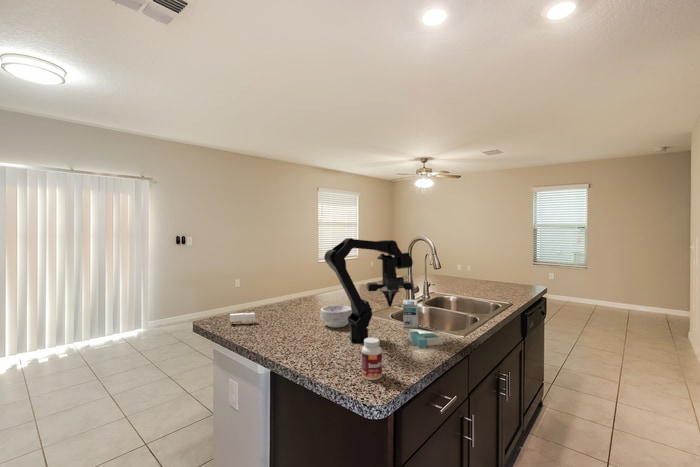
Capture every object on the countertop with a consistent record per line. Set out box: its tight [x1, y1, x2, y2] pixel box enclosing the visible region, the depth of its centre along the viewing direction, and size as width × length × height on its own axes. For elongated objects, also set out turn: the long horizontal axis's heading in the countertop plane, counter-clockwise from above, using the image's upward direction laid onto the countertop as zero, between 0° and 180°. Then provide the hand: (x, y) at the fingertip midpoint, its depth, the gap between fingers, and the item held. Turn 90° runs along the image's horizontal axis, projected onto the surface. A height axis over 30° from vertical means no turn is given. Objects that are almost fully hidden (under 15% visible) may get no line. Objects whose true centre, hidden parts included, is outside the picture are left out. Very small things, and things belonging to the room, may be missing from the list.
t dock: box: [421, 332, 444, 347], centre depth 125 cm, size 6×7×2 cm
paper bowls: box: [320, 305, 352, 328], centre depth 150 cm, size 15×15×8 cm
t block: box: [409, 330, 435, 349], centre depth 125 cm, size 8×10×3 cm
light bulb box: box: [402, 298, 419, 329], centre depth 149 cm, size 11×7×11 cm, turn 168°
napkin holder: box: [229, 312, 256, 323], centre depth 154 cm, size 15×11×6 cm
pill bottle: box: [361, 337, 383, 381], centre depth 97 cm, size 6×6×11 cm
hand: (389, 306), depth 135 cm, fingers closed
